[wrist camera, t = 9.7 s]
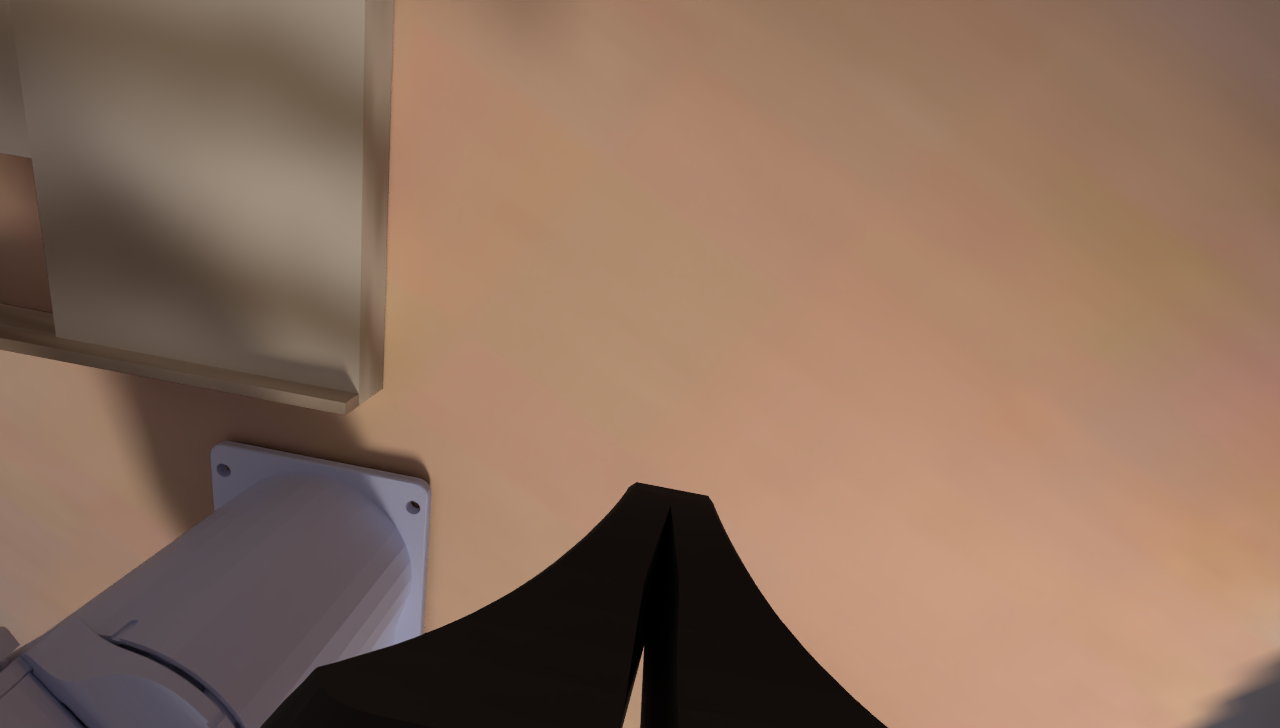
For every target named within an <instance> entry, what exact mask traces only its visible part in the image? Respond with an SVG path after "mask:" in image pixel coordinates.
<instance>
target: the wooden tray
mask: <svg viewBox="0 0 1280 728" xmlns="http://www.w3.org/2000/svg"><path fill="white" fill-rule="evenodd" d="M393 12H394V0H0V153H3V154H9V155H15V156H21V157H27V158H31V159H32V167H33V174H34V181H35V188H36V195H37V203H38V210H39V217H40V224H41V231H42V239H43V246H44V253H45V260H46V267H47V275H48V282H49V289H50V296H51V303H52V311H53V313H48V312H43V311H38V310H32V309H27V308H21V307H16V306H11V305H5V304H0V350H6V351H11V352H16V353H21V354H27V355H32V356H37V357H42V358H48V359H53V360H58V361H63V362H69V363H74V364H79V365H84V366H90V367H95V368H100V369H105V370H111V371H116V372H121V373H126V374H132V375H137V376H142V377H147V378H153V379H158V380H163V381H168V382H174V383H179V384H184V385H190V386H195V387H200V388H205V389H211V390H216V391H221V392H226V393H232V394H237V395H242V396H247V397H253V398H258V399H263V400H268V401H274V402H279V403H284V404H289V405H295V406H300V407H305V408H310V409H316V410H321V411H326V412H331V413H337V414H342V415H346V414H348V413H349V412H350V411H352V410H353V409H355V408H356V407H357V406H359V405H360V404H362V403H363V402H365V401H366V400H367V399H369V398H370V397H372V396H373V395H374V394H376V393H377V392H379V391H380V390H381V389H383V367H384V331H385V296H386V260H387V225H388V189H389V154H390V118H391V83H392V48H393Z"/></svg>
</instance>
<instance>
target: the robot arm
mask: <svg viewBox="0 0 1280 728" xmlns="http://www.w3.org/2000/svg"><path fill="white" fill-rule="evenodd" d="M210 457H211V472H212V488H213V503H214V512H213V513H212V514H210V515H209V516H208V517H206V518H205V519H203V520H202V521H201V522H199V523H198V524H196V525H195V526H194V527H192V528H191V529H189V530H188V531H187V532H185V533H184V534H183V535H181V536H180V537H178V538H177V539H176V540H174V541H173V542H171V543H170V544H169V545H167V546H166V547H164V548H163V549H162V550H160V551H159V552H157V553H156V554H155V555H153V556H152V557H150V558H149V559H148V560H146V561H145V562H143V563H142V564H141V565H139V566H138V567H137V568H135V569H134V570H132V571H131V572H130V573H128V574H127V575H125V576H124V577H123V578H121V579H120V580H118V581H117V582H116V583H114V584H113V585H111V586H110V587H109V588H107V589H106V590H104V591H103V592H102V593H100V594H99V595H97V596H96V597H95V598H93V599H92V600H90V601H89V602H88V603H86V604H85V605H84V606H82V607H81V608H79V609H78V610H77V611H75V612H74V613H72V614H71V615H70V616H68V617H67V618H65V619H64V620H63V621H61V622H60V623H58V624H57V625H56V626H54V627H53V628H51V629H50V630H49V631H47V632H46V633H44V634H43V635H41V636H40V637H38V638H36V639H35V640H33V641H31V642H29V643H28V644H26V645H24V646H22V647H21V648H19V649H17V650H15V649H16V648H17V647H18V646H19V645H20V644H19V643H18V641H17V640H16V639H15V638H14V636H13V635H12V634H11V632H10V631H9V630H8V629H7V628H5V627H0V728H622V727H623V723H624V719H625V715H626V712H627V708H628V704H629V700H630V697H631V693H632V689H633V685H634V682H635V678H636V674H637V670H638V667H639V663H640V659H641V655H642V651H643V648H644V662H643V682H642V703H641V725H640V728H888V727H886V726H885V725H884V724H883V723H882V722H880V721H879V720H878V719H877V718H876V717H874V716H873V715H872V714H871V713H870V712H869V711H868V710H867V709H865V708H864V707H863V706H862V705H861V704H860V703H859V702H858V701H857V700H855V699H854V698H853V697H852V696H851V695H850V694H849V693H848V692H847V691H846V690H845V689H844V688H843V687H842V686H841V685H840V684H839V683H838V682H837V681H836V680H835V679H834V678H833V677H832V676H831V675H830V674H829V673H828V672H827V671H826V670H825V669H824V668H823V667H822V666H821V665H820V664H819V663H818V662H817V661H816V660H815V659H814V658H813V657H812V656H811V655H810V654H809V653H808V651H807V650H806V649H805V648H804V647H803V646H802V645H801V643H800V642H799V641H798V640H797V639H796V638H795V636H794V635H793V634H792V633H791V632H790V630H789V629H788V628H787V627H786V626H785V624H784V623H783V622H782V621H781V620H780V618H779V617H778V616H777V614H776V613H775V612H774V610H773V609H772V608H771V606H770V605H769V603H768V602H767V600H766V599H765V597H764V596H763V595H762V593H761V592H760V590H759V589H758V587H757V586H756V584H755V582H754V581H753V579H752V578H751V576H750V574H749V573H748V571H747V569H746V568H745V566H744V564H743V562H742V561H741V559H740V557H739V556H738V554H737V552H736V550H735V548H734V547H733V545H732V543H731V541H730V539H729V537H728V535H727V533H726V531H725V529H724V527H723V525H722V523H721V521H720V518H719V516H718V514H717V512H716V509H715V507H714V504H713V502H712V501H711V499H710V498H709V496H706V495H701V494H695V493H690V492H685V491H680V490H674V489H669V488H664V487H659V486H653V485H648V484H643V483H638V482H636V483H635V484H633V485H631V486H630V487H629V488H628V489H627V491H626V493H625V494H624V495H623V497H622V498H621V499H620V501H619V502H618V503H617V504H616V505H615V506H614V508H613V509H612V510H611V511H610V512H609V513H608V514H607V515H606V516H605V517H604V518H603V519H602V520H601V521H600V522H599V523H598V524H597V525H596V526H595V527H594V528H593V529H592V530H591V531H590V532H589V533H588V534H587V535H586V536H585V537H584V538H583V539H582V540H581V541H580V542H578V543H577V544H576V545H575V546H574V547H572V548H571V549H570V550H569V551H568V552H567V553H565V554H564V555H563V556H562V557H561V558H559V559H558V560H557V561H556V562H554V563H553V564H552V565H550V566H549V567H548V568H546V569H545V570H544V571H542V572H541V573H540V574H538V575H537V576H535V577H534V578H532V579H531V580H529V581H528V582H526V583H525V584H523V585H522V586H520V587H519V588H517V589H516V590H514V591H512V592H511V593H509V594H507V595H505V596H504V597H502V598H500V599H498V600H497V601H495V602H493V603H491V604H489V605H487V606H485V607H483V608H481V609H479V610H478V611H476V612H474V613H472V614H470V615H468V616H466V617H463V618H461V619H459V620H457V621H454V622H452V623H450V624H447V625H445V626H443V627H440V628H438V629H435V630H433V631H430V632H428V633H425V634H424V616H425V599H426V581H427V563H428V546H429V528H430V510H431V488H430V486H429V484H428V483H427V482H426V481H424V480H423V479H420V478H417V477H411V476H406V475H401V474H396V473H391V472H386V471H381V470H376V469H370V468H365V467H360V466H355V465H350V464H345V463H340V462H334V461H329V460H324V459H319V458H314V457H309V456H304V455H298V454H293V453H288V452H283V451H278V450H273V449H268V448H263V447H257V446H252V445H247V444H242V443H237V442H232V441H223V442H221V443H219V444H217V445H215V446H214V447H213V448H212V449H211V454H210ZM224 464H225V465H227V466H228V467H229V468H230V471H229V470H227V469H226V468H225V465H224ZM411 501H414V502H417V503H418V505H419V506H420V508H419V509H417V508H415V507H413V505H412V504H411ZM14 650H15V651H14ZM13 651H14V652H13ZM11 652H12V653H11Z"/></svg>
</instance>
